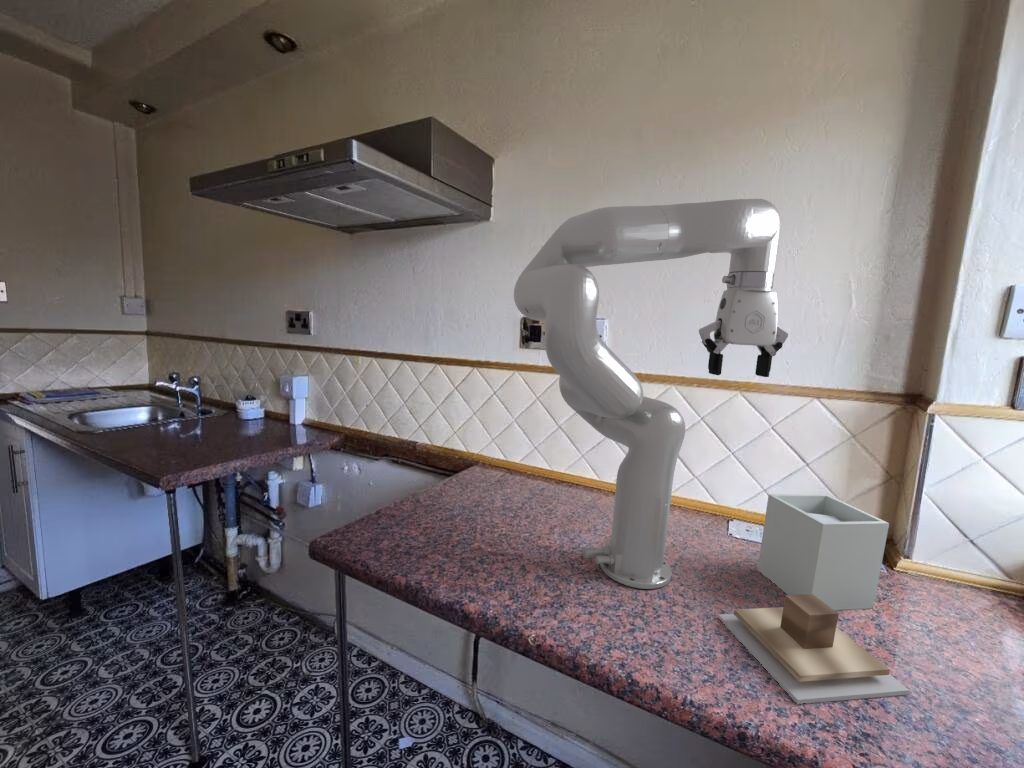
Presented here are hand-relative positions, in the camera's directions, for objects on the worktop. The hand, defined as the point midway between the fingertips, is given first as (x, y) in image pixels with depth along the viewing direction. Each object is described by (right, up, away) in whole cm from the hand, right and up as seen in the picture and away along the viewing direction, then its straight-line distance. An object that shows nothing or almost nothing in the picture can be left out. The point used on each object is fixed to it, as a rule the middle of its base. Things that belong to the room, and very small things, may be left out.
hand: (738, 375), depth 87 cm
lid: (-2, -39, -23) cm, 45 cm away
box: (+10, -38, -6) cm, 40 cm away
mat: (-2, -40, -23) cm, 46 cm away
